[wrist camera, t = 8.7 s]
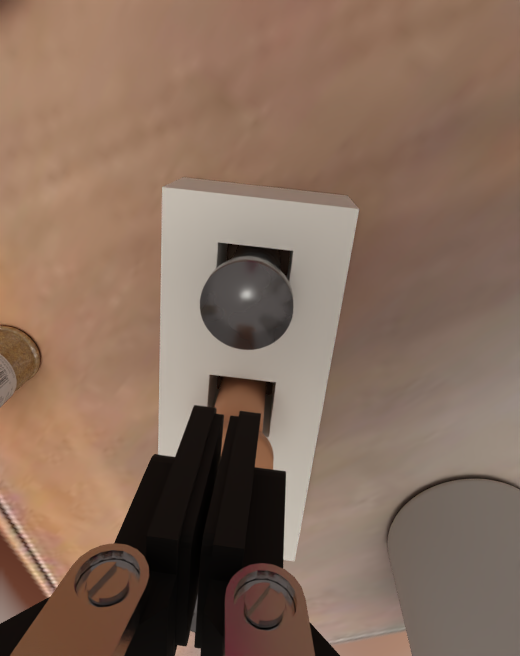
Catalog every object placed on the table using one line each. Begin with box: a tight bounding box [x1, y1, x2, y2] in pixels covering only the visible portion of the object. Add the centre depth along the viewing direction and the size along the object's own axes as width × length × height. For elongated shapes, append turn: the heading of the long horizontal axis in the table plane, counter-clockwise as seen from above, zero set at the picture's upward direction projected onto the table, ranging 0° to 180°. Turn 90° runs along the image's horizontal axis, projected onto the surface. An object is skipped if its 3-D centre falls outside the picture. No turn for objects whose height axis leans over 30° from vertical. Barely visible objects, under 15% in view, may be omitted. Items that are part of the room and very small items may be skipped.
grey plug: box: [200, 245, 293, 350], centre depth 25 cm, size 4×4×8 cm
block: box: [158, 177, 359, 561], centre depth 31 cm, size 10×25×5 cm, turn 174°
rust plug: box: [214, 376, 274, 470], centre depth 27 cm, size 4×4×8 cm
